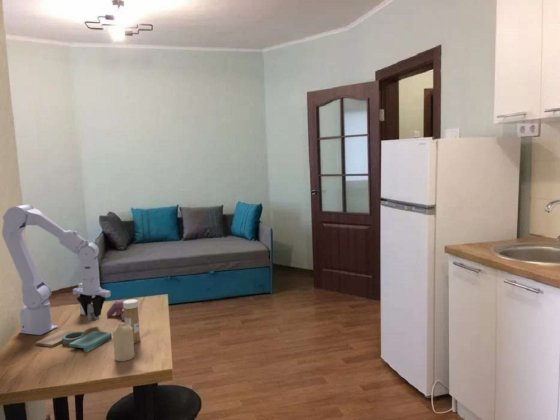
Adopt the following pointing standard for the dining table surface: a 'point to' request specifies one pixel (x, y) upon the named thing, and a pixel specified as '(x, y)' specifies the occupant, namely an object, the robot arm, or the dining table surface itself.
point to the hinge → (76, 339)
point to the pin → (91, 312)
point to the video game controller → (116, 309)
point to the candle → (123, 342)
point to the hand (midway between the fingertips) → (93, 315)
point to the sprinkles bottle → (132, 317)
